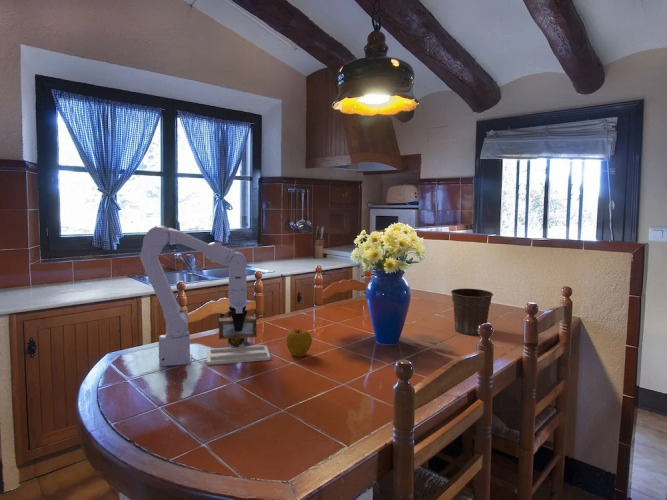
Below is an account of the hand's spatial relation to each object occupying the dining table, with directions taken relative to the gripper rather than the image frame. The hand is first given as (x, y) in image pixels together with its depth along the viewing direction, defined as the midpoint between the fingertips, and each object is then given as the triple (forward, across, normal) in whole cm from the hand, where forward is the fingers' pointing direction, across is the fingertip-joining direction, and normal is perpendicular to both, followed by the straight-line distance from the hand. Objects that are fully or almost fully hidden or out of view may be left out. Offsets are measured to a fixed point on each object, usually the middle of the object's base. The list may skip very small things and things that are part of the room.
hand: (238, 329), depth 148 cm
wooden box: (+2, 0, 0) cm, 2 cm away
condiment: (+5, +16, -1) cm, 17 cm away
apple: (+10, -3, -20) cm, 22 cm away
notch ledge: (+9, 0, 0) cm, 9 cm away
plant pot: (+10, +9, -93) cm, 94 cm away
